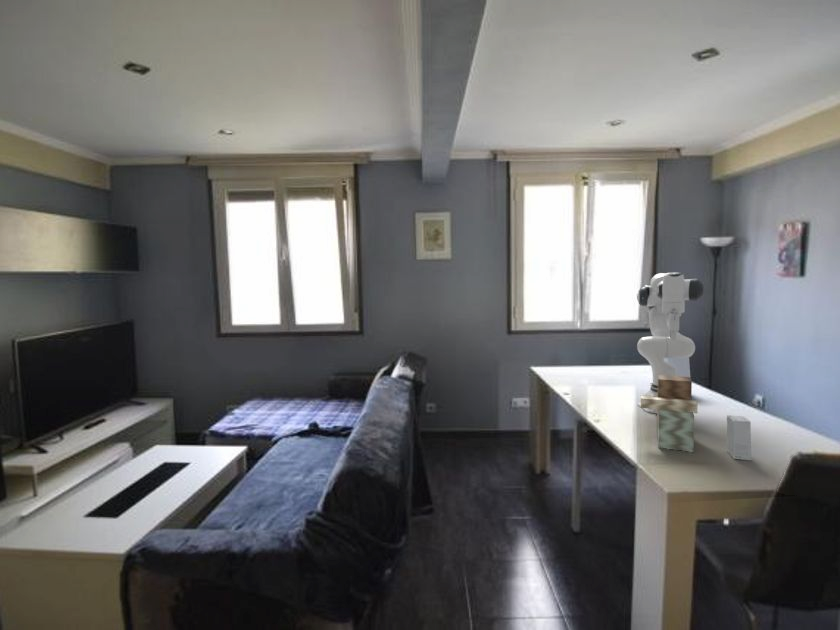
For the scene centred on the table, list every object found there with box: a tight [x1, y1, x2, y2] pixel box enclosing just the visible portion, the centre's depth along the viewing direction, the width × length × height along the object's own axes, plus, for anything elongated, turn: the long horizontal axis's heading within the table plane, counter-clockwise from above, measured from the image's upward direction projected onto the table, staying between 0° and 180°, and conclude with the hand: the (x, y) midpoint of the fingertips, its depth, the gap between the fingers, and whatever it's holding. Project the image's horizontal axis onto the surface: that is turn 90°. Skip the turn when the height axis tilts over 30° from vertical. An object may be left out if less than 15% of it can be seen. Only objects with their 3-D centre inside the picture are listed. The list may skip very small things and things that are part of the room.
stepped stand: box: [656, 375, 695, 453], centre depth 181 cm, size 12×20×26 cm, turn 153°
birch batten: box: [640, 395, 699, 414], centre depth 178 cm, size 20×4×4 cm, turn 63°
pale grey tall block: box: [664, 357, 691, 378], centre depth 256 cm, size 15×15×28 cm
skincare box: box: [726, 415, 752, 462], centre depth 166 cm, size 8×6×15 cm
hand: (672, 339), depth 196 cm, fingers open, 8 cm apart
